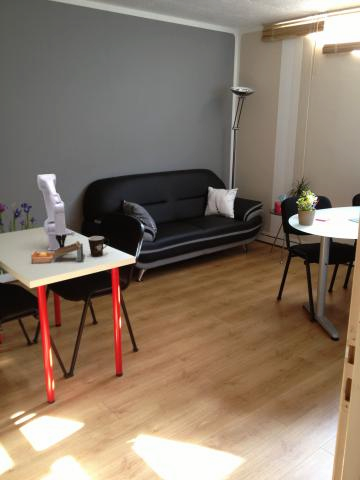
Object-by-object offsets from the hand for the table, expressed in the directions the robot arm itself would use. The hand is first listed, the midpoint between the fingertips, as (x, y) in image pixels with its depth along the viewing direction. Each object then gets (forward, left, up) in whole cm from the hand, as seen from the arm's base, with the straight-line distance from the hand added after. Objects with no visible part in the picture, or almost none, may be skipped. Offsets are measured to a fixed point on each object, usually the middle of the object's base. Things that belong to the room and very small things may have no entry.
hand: (62, 248), depth 246 cm
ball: (+8, -9, -2) cm, 12 cm away
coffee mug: (+2, +21, -4) cm, 21 cm away
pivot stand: (+8, +11, -4) cm, 14 cm away
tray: (+8, -9, -4) cm, 13 cm away
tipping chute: (+5, +4, 0) cm, 7 cm away
